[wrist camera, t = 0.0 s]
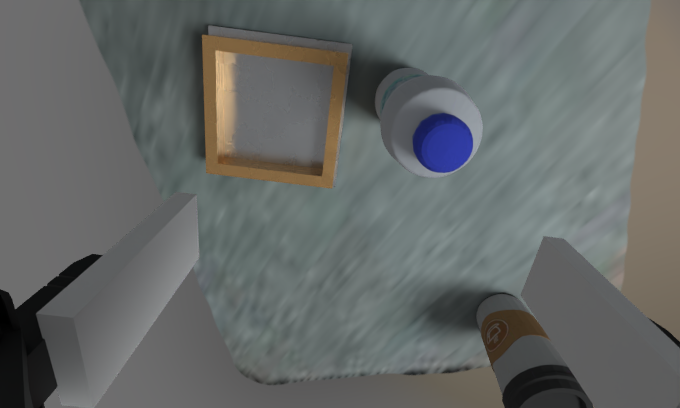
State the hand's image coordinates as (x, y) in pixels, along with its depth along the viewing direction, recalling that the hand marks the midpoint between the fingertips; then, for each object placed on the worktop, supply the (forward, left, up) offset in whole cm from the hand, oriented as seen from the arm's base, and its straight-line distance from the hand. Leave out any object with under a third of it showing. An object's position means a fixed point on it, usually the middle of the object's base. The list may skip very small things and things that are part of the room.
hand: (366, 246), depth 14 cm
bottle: (-2, +5, -28) cm, 29 cm away
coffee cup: (+24, +23, -28) cm, 43 cm away
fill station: (+1, -8, -28) cm, 29 cm away
